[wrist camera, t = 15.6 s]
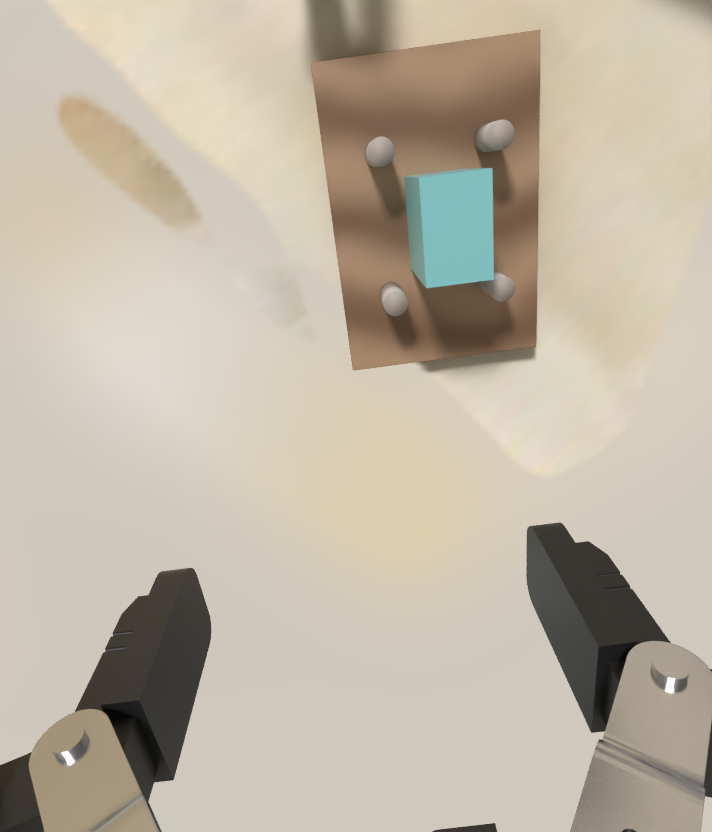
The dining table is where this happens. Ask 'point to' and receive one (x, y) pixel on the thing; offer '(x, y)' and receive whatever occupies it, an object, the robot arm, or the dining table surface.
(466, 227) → the block
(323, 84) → the stub board
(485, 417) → the dining table surface
